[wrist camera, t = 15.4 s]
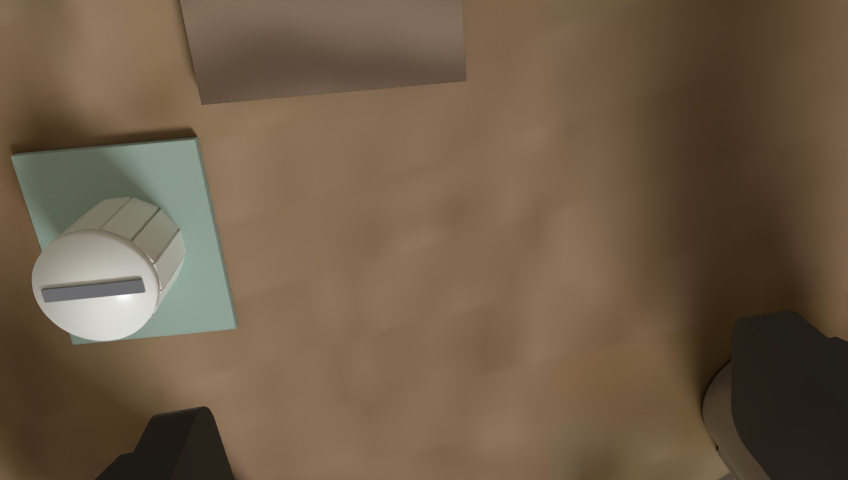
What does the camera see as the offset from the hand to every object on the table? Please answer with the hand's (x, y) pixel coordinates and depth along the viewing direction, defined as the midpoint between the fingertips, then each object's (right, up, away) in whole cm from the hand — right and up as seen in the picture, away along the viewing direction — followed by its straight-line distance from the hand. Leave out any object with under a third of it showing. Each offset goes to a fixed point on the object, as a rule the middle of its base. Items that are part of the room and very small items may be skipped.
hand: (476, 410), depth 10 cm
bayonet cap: (-18, +2, +29) cm, 34 cm away
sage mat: (-18, +2, +29) cm, 34 cm away
